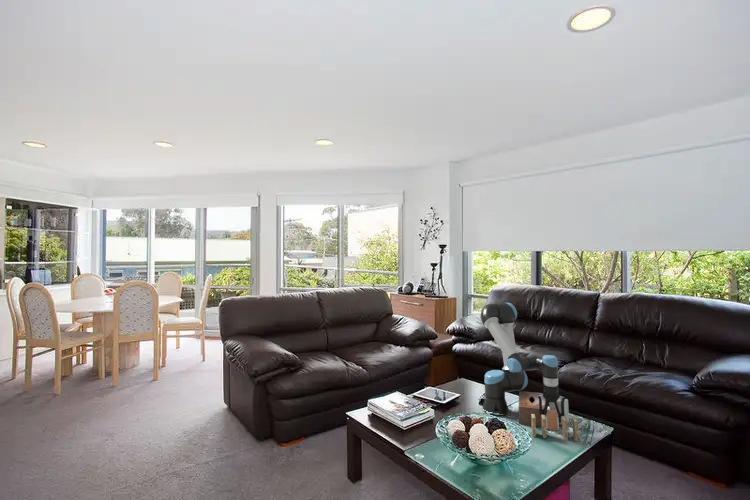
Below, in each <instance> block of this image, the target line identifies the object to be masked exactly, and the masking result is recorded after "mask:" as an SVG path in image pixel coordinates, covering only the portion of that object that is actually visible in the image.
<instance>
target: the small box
mask: <svg viewBox="0 0 750 500" xmlns="http://www.w3.org/2000/svg"><path fill="white" fill-rule="evenodd" d="M556 402H557V405H558V408H559V411H560V413H561V400H560V398H559V399H558V400H557V401H556ZM548 407H549V410H556V407H555V404H554V403H552V402H549V404H548ZM556 411H557V410H556ZM564 414H565V416H564V417H566V419H567V424H569V423H570V414H569V399H568V398H565V401H564ZM557 415H558V413H557ZM559 426H562V416H561V423H559Z"/></svg>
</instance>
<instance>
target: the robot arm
mask: <svg viewBox="0 0 750 500" xmlns="http://www.w3.org/2000/svg"><path fill="white" fill-rule="evenodd" d="M480 311H481V312H480V319H481V323H482V324H483V326H484V328H486V329H488V331H489V333H490V334H491V336H492V338H494V339H493V340H495V342H496V344H497V346H498V347H499V348H500V350H501V353H502V359H503V367H502V368H501V370H500V369H491V370H488V371H486V372H485V374H484V400H483V403H482V410H483V409H484V410H486V411H488V412H493V413H499V414H506V415H507V414H509V412H510V411H509V409H510V408H509V406H508V403H507V401H506V393H510V392H516V391H517V392H519V391H522V390H524V389H525V388H526V387H527V386H528V380H529V379H528V376H527V373H526V372H527V371H529V372H530V371H535V370H538V371H541V372H542V383H543V385H542V386H543V392H542V393H543V394H542V395H538V398H539V413H540V414H542V415H545V417H546V430H548V425H547V414H546V412H547V410H548V407H549V402H552V403H554V404H555V407H556V410H557V413H558V415H557V430H560V424H559V423H561V416H565V414H564V401H565V399H566V398H565V397H564V396H561V395H560V394H559V363H558V357H556V356H555V355H551V354H545V355H543V356H541V355H539V354H535V353H534V354H533V353H529V354H528V355H527V356H521V354H520V352H519V350H518V349H517V348H516V347H517V346H516V340H515V333H514V327H513V326H514V324H515V321H516V319H518V318H517V317H518V311H517V309H516V307H515V305H514V304H513V303H511V302H496V303H488V304H486V305H484V306H483V307H482V309H481V310H480ZM543 397H544V398H545V406H544V410H543V412H542V400H541V399H543ZM559 398H560V400H561V413H560V411H559V408H558V405H557V402H556V401H557V400H558V399H559Z"/></svg>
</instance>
